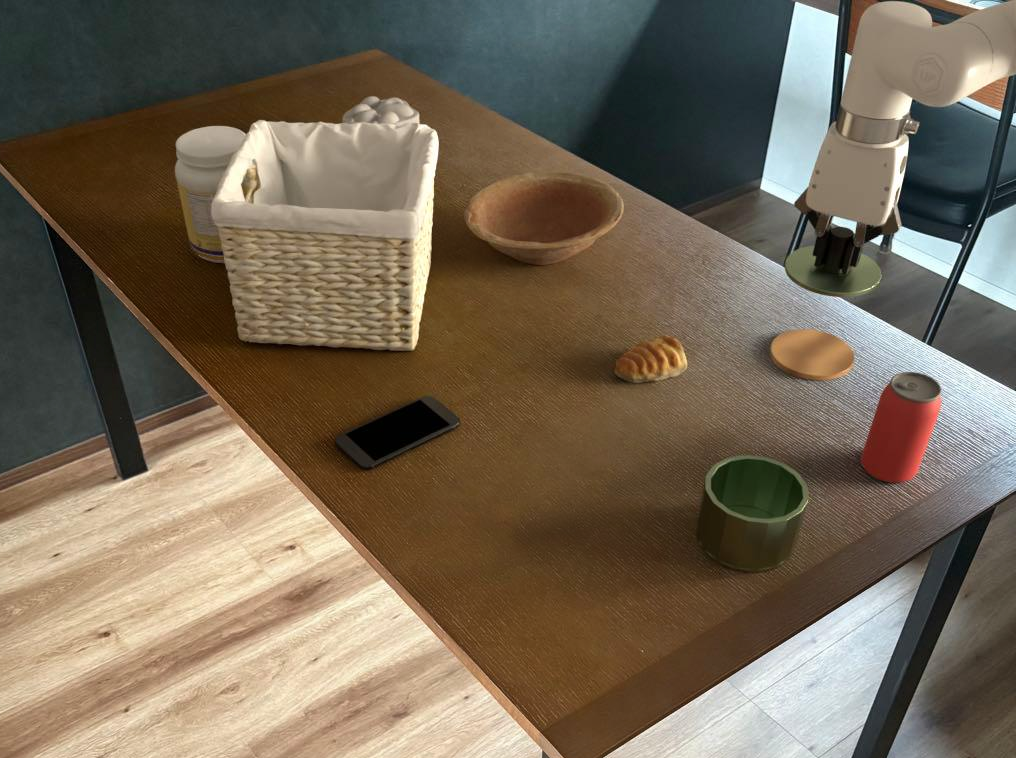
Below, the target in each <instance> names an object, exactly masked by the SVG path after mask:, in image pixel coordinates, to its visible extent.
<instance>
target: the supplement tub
mask: <svg viewBox="0 0 1016 758" xmlns="http://www.w3.org/2000/svg"><path fill="white" fill-rule="evenodd" d="M246 134H247V133H245V132H244V131H242V130H241V129H238V128H236V127H231V126H227V125H210V126H204V127H203V126H202V127H199V128H195V129H191V130H189V131H187V132H185V133H183V134H181V135H180V136H179V137H178V138H177V140H176V141H175V149H176V150H175V151H176V152H175V153H176V155H175V156H176V158H177V160H176V163H175V165H174V176H175V180H176V183H177V184H176V185H177V190H178V194H179V198H180V204H181V209H182V212H183V213H182V214H183V217H184V222H185V228H186V232H187V237H188V242H190V243H189V245H190V244H191V246H192V247H193V248H194V249H195V250H197V251H199V252H201V253H203V254H207V255H211V256H217V257H224V254H223V250H222V242H221V240H220V237H219V230H218V226H216V225H215V224H214V221H213V219H212V216H211V204H212V201H213V199H214V197H215V195H216V193H217V189H218V185H219V183H220V181H221V179H222V176H223V174H224V172H225V171H226V169H227V167H228V166H229V163H230V160H231V158H232V156H233V155H234V154H235V153H236V152H237V150H238V148H239V146H240V145H241V143H242V141H243V139H244V137H245V135H246ZM241 186H242V190H243V195H244V198H245V197H246V195H247V191H248V190H249V188H248V183H247V182H246V177H245V176H244V178H243V182H242V183H241ZM191 246H190V247H191ZM194 254H195V255H196V256H198V258H201V259H202V260H205V261H207V262H212V263H215V264H225V262H224V260H214V259H209V258H205V257H202V256H200V255H197V254H196V253H194Z"/></svg>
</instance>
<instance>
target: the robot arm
mask: <svg viewBox="0 0 1016 758" xmlns="http://www.w3.org/2000/svg"><path fill="white" fill-rule="evenodd" d="M856 30H857V31H856V35H855V38H854V39H855V40H854V44H853V48H852V52H851V57H850V61H849V65H848V69H847V74H846V78H845V82H844V87H843V91H842V95H841V100H840V104H839V108H838V112H837V115H836V116H837V117H836V121H834V122H832V123H831V125H830V126H829V128H828V129H827V132H826V134H825V136H824V138H823V141H822V143H821V146H820V149H819V151H818V154H817V157H816V159H815V163H814V167H813V168H812V172H811V176H810V178H809V182H808V185H807V187H806V188H805V189H804V190H803V192H802V193H801V194H800V195H799V196H798V198H797V199H796V200H795V201H794V203H793V205H794V208H796V209H797V210H798V211H799V212H800V213H801V214H803V215H805V217H806V219H807V220H808V221H809V223H810V225H811V226H812V227H813V229H814V235H815V236H816V238H815V242H814V245H815V246H814V245H813V246H814V250H813V256H816V260H815V264H814V266H816V267H819V266H821V265H822V264H823V260H824V256H825V252H826V248H827V244H828V240H829V236H830V232H831V229H833V228H834V227H832V223H833V220H834V217H835V218H840V219H843V220H846V221H847V220H848V221H852V222H855V223H856V226H855V231H854V236H853V239H852V242H851V243H850V244H849V245H848V248H847V252H846V255H845V259H844V263H843V267H842V271H841V273H842V274H844V275H847V274H848V272H849V271H850V269H851V268H852V267H857V265H858V263H859V261H860V257H861V254H863V251H864V250H863V249H864V247H865V244H867V243H869V242H870V241H872V240H875V239H877V238H878V237H879V236H888V235H892V234H897V233H898V232H899V231H900V230H901V228H902V219H901V215H900V211H899V208H898V202H899V198H900V195H901V190H902V186H903V181H904V177H905V173H906V166H907V160H908V154H909V136H908V135H909V134H912V135H916V134H917V132H918V130H919V126H920V121H917V120H914V118H911V115H910V113H911V105H912V102H913V100H914V101H916V102H918V103H920V104H922V105H924V106H927V107H932V108H943V107H948V106H951V105H953V104H956V103H958V102H960V101H961V100H963V99H965V98H967V97H969V96H970V95H972V94H974V93H975V92H977V91H979V90H981V89H983V88H984V87H986V86H987V85H990V84H992V83H995V82H996V81H998V80H1001V79H1004V78H1007V77H1012V76H1015V75H1016V0H1007V1H1004V2H1001V3H997V4H994V5H991V6H988V7H984V8H982V9H978V10H976V11H974V12H971V13H969V14H967V15H964V16H962V17H959V18H958V19H956V20H954V21H952V22H949V23H948V24H947V23H946V24H942V25H936V26H933V18H932V15H931V13H930V12H929V11H928V10H927V9H926V8H924V7H922V6H920V5H917V4H915V3H911V2H908V1H907V2H906V1H900V0H899V1H897V0H890V1H889V0H887V1H881V2H876V3H873V4H871V5H870V6H868V7H867V8H866V9H865V10H864V12H863V14H862V15H861V16H860V19H859V23H858V26H857V29H856Z"/></svg>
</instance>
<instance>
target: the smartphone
mask: <svg viewBox="0 0 1016 758" xmlns="http://www.w3.org/2000/svg"><path fill="white" fill-rule="evenodd" d="M460 426H461V419H460V417H458V416H457V415H456V414H455V413H454V412H453V411H451V410H450V409H449V408H447V406H445V405H444V404H443V403H442V402H441V401H439V400H438V399H436V397H434V396H432V395H423V396H421V397H419V398H416V399H414V400H412V401H410V402H407V403H405V404H403V405H401V406H398V407H397V408H394V409H391V410H390V411H388V412H385V413H383V414H382V415H379V416H377V417H375V418H373V419H370V420H369V421H366V422H364V423H362V424H359V425H357V426H356V427H353V428H351V429H349V430H346V431H344V432H342V433H340V434H338V435H336V437H335V438H334V440H333V442H334V445H335V446H336V447H337V448H338V449H340V451H342V453H344V455H346V456H347V457H348V458H349V459H350V460H351V461H352V462H353V463H355V464H356V466H357V467H359V468H360V469H361V470H363V471H370V470H373V469H375V468H377V467H379V466H381V465H383V464H385V463H387V462H390V461H391V460H393V459H395V458H398V457H400V456H401V455H405V454H406V453H408V452H410V451H412V450H415V449H416V448H419V447H420V446H423V445H425V444H426V443H429V442H431V441H433V440H435V439H437V438H439V437H441V436H444V435H445V434H447V433H449V432H451V431H453V430H455V429H458V427H460Z"/></svg>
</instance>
